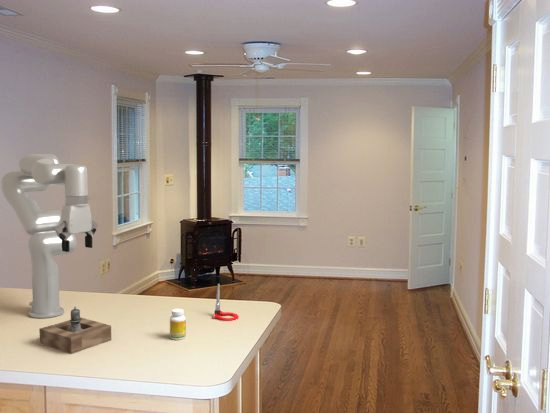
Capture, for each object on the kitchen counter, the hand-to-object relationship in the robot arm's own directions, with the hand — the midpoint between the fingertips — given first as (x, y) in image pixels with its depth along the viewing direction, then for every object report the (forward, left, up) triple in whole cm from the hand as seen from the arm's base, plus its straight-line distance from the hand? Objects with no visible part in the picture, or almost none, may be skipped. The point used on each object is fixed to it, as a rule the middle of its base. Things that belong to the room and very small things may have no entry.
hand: (77, 249), depth 209 cm
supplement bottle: (+35, +13, -28) cm, 47 cm away
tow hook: (+34, +41, -29) cm, 61 cm away
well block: (+11, -10, -28) cm, 32 cm away
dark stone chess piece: (+11, -10, -28) cm, 32 cm away
